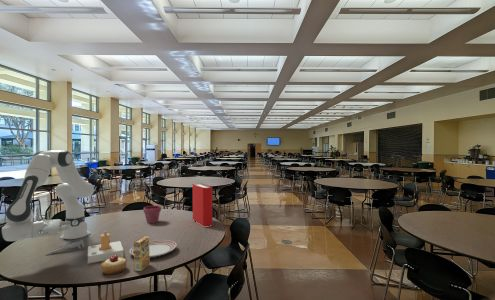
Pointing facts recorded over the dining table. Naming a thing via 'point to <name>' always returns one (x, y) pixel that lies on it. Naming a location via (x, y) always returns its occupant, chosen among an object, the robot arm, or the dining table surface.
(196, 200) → the book
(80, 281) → the dining table surface
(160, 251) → the dinner plate
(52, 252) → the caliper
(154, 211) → the plant pot
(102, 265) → the pastry
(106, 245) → the block
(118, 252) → the housing
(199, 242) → the dining table surface
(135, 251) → the candy box
